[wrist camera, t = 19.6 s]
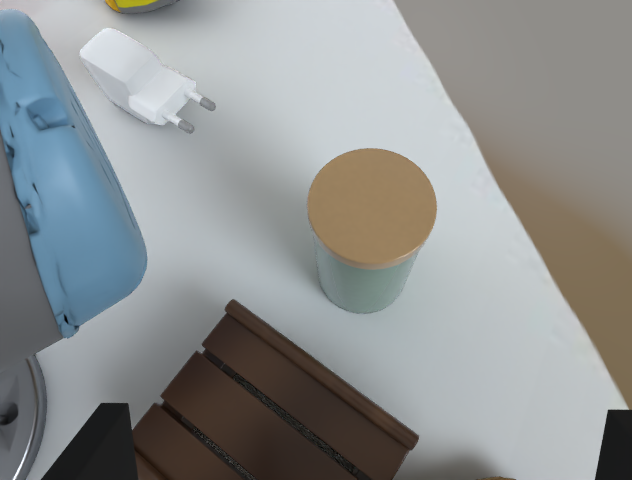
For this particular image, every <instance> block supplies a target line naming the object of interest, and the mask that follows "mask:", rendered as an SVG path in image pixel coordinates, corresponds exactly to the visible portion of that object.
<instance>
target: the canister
mask: <svg viewBox="0 0 632 480" xmlns="http://www.w3.org/2000/svg"><path fill="white" fill-rule="evenodd" d="M307 212H308V219H309V224H310V228H311V230H312V233H313V237H314V245H315V253H316V260H317V268H318V276H319V281H320V284H321V287H322V289H323V291H324V293H325V294H326V296H327V297H328V298H329V299H330V300H331V301H332V302H333V303H334V304H335V305H337V306H338V307H340V308H342V309H344V310H346V311H349V312H353V313H361V314H365V313H373V312H377V311H379V310H382V309H384V308H386V307H387V306H389V305H390V304H391V303H392V302H393V301H394V300H395V299H396V298H397V297H398V296H399V294H400V292H401V291H402V288H403V286H404V284H405V282H406V279H407V277H408V275H409V273H410V270H411V268H412V266H413V264H414V261H415V259H416V257H417V255H418V252H419V250H420V249H421V248H422V246H423V245H424V244H425V242H426V241H427V239H428V237H429V235H430V233H431V231H432V228H433V226H434V223H435V219H436V213H437V202H436V197H435V193H434V190H433V187H432V185H431V183H430V181H429V179H428V178H427V176H426V175H425V174H424V172H423V171H422V170H421V169H420V168H419V167H418V166H417V165H416V164H414V163H413V162H412V161H410V160H409V159H407V158H406V157H404V156H402V155H400V154H397V153H394V152H391V151H387V150H383V149H371V148H367V149H358V150H354V151H350V152H347V153H344V154H342V155H340V156H338V157H336V158H334V159H333V160H331V161H330V162H329V163H327V164H326V165H325V166H324V167H323V168H322V169H321V170H320V171H319V173H318V174H317V175H316V177H315V178H314V180H313V182H312V184H311V187H310V190H309V193H308V198H307Z"/></svg>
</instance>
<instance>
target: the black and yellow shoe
mask: <svg viewBox="0 0 632 480" xmlns="http://www.w3.org/2000/svg"><path fill="white" fill-rule="evenodd" d="M105 1H106V3H107V4H108V5H109V6H110V7H111V8H112V9H113V10H116V11H118V12H119V13H141V12H149V11H152V10H154V9H157V8H160V7H163V6H165V5H168V4H171V3H174V2H176V1H179V0H105Z"/></svg>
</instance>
